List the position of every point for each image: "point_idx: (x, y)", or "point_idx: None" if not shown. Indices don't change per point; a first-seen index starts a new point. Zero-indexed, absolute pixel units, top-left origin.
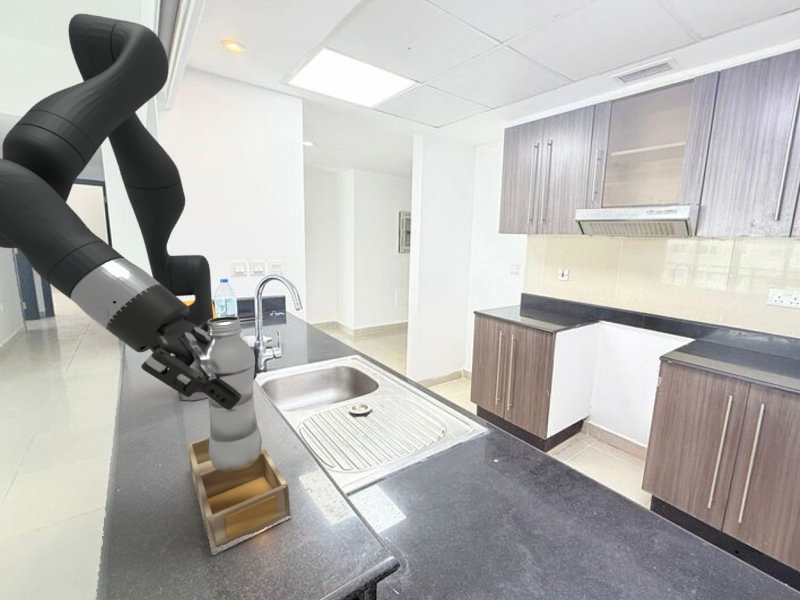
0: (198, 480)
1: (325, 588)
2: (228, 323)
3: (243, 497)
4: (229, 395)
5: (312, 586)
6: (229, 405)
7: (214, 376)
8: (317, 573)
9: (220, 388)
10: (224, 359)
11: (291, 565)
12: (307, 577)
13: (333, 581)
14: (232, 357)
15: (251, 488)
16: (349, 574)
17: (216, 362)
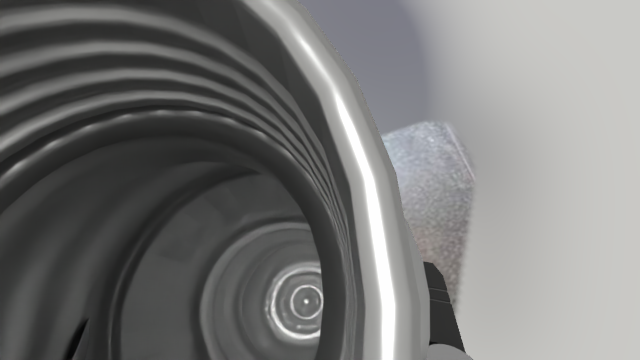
0: None
1: (468, 185)
2: (331, 100)
3: None
4: (432, 278)
5: (463, 199)
6: None
7: (441, 355)
8: (447, 192)
9: (438, 317)
10: (424, 289)
11: (430, 223)
12: (450, 204)
13: (461, 176)
14: (407, 231)
15: None
16: (454, 158)
17: (426, 353)
